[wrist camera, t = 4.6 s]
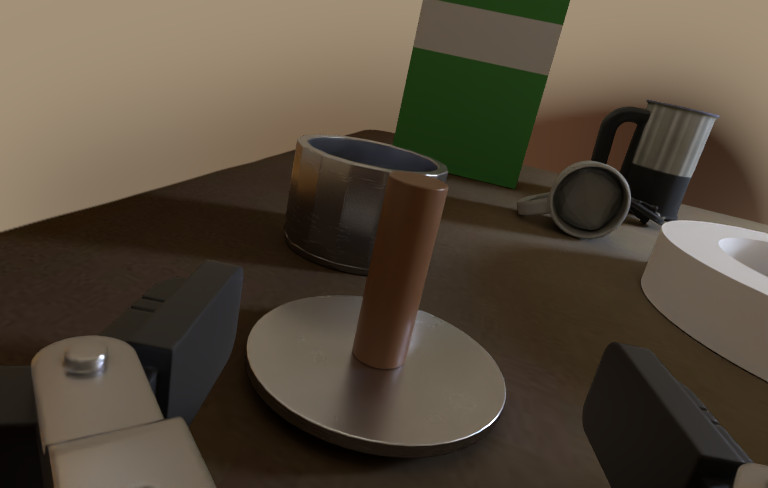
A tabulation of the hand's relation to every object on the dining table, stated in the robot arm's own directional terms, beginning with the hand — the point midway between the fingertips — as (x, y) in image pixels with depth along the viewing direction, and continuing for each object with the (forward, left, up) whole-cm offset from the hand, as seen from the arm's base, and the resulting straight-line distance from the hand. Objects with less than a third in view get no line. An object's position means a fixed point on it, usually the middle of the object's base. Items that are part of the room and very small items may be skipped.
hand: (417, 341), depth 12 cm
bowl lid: (+4, +10, -7) cm, 13 cm away
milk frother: (+55, +45, -8) cm, 71 cm away
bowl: (+8, +26, -8) cm, 28 cm away
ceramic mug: (+35, +36, -8) cm, 51 cm away
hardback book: (+33, +59, -8) cm, 68 cm away
